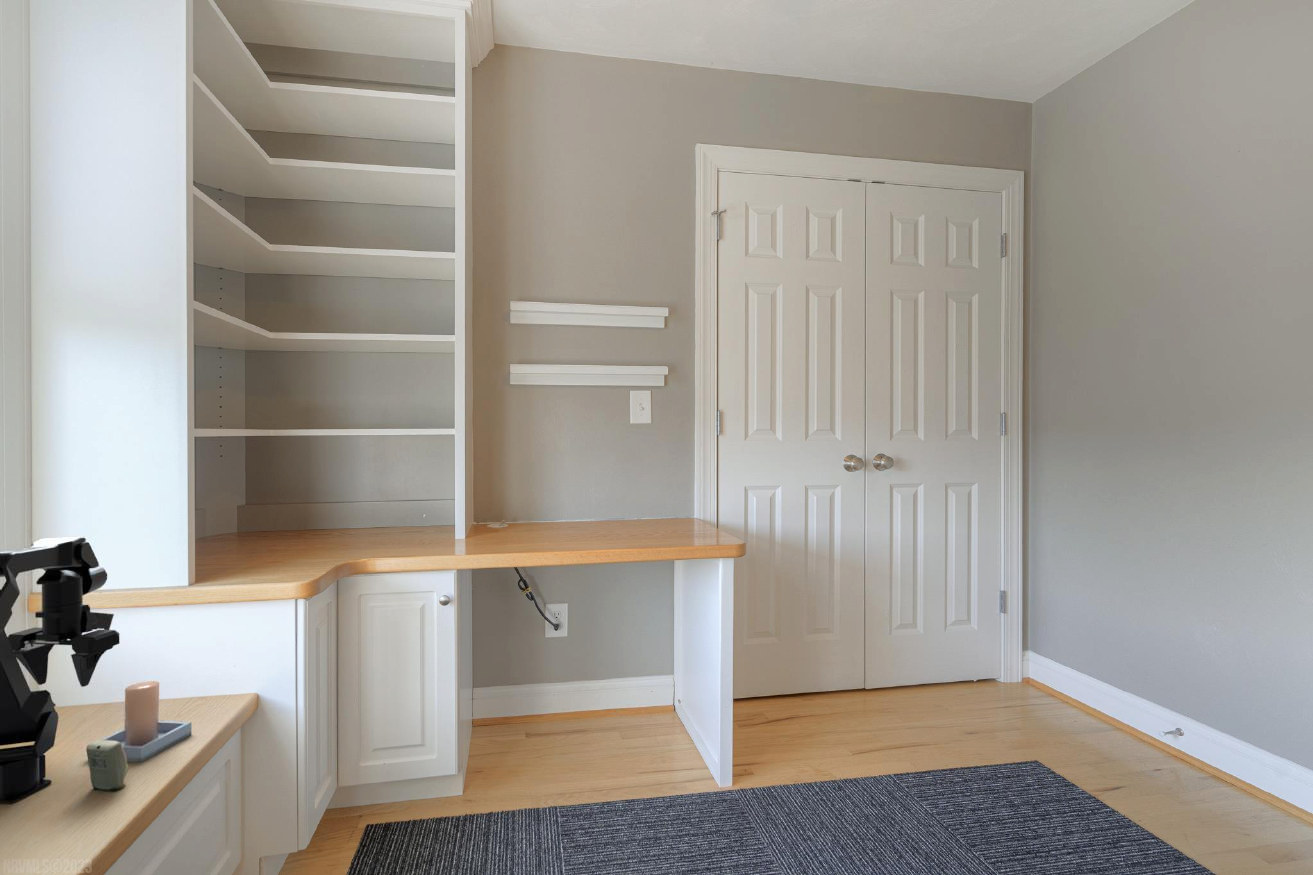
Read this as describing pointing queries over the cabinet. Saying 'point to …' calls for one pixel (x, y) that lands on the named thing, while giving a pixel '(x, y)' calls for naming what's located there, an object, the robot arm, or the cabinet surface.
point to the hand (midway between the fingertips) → (63, 684)
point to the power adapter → (107, 765)
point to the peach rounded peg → (141, 713)
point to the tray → (167, 737)
